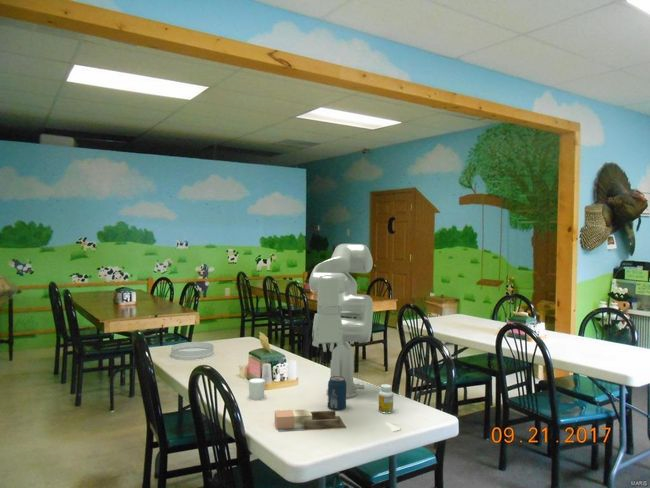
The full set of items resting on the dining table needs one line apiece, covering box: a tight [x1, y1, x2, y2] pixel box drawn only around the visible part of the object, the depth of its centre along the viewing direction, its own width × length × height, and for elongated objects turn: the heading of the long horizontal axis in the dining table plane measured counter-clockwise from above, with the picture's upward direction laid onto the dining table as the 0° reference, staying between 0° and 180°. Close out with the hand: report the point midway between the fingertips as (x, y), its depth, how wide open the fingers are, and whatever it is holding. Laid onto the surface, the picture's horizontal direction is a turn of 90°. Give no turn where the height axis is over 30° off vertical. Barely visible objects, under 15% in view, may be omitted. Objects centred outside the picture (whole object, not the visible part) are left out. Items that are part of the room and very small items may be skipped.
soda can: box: [327, 376, 347, 411], centre depth 187 cm, size 7×7×12 cm
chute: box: [277, 410, 347, 433], centre depth 170 cm, size 23×11×4 cm, turn 101°
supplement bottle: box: [378, 383, 394, 414], centre depth 186 cm, size 5×5×10 cm
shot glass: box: [248, 377, 266, 401], centre depth 199 cm, size 7×7×7 cm
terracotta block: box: [274, 409, 295, 430], centre depth 168 cm, size 6×6×4 cm
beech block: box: [291, 408, 312, 428], centre depth 169 cm, size 6×6×4 cm
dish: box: [170, 341, 215, 361], centre depth 265 cm, size 22×22×5 cm
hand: (327, 362), depth 174 cm, fingers closed
